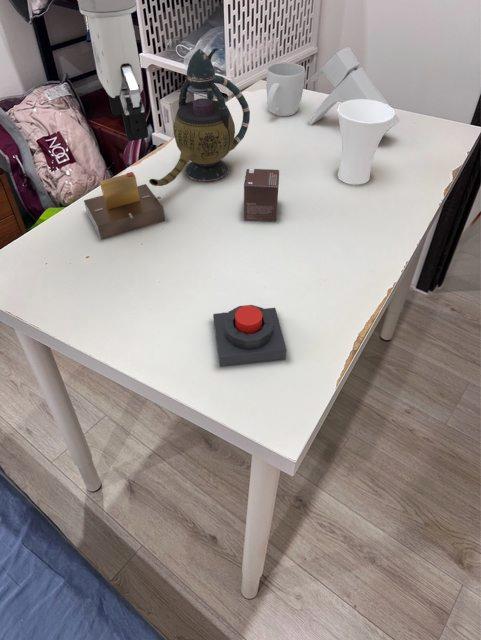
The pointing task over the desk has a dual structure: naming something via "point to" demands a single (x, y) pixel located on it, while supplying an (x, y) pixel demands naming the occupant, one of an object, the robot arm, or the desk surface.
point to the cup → (361, 137)
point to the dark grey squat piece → (248, 339)
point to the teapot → (205, 124)
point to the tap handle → (120, 190)
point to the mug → (284, 88)
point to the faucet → (347, 84)
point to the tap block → (124, 214)
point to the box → (261, 195)
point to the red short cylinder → (248, 319)
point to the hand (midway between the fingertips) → (129, 125)
